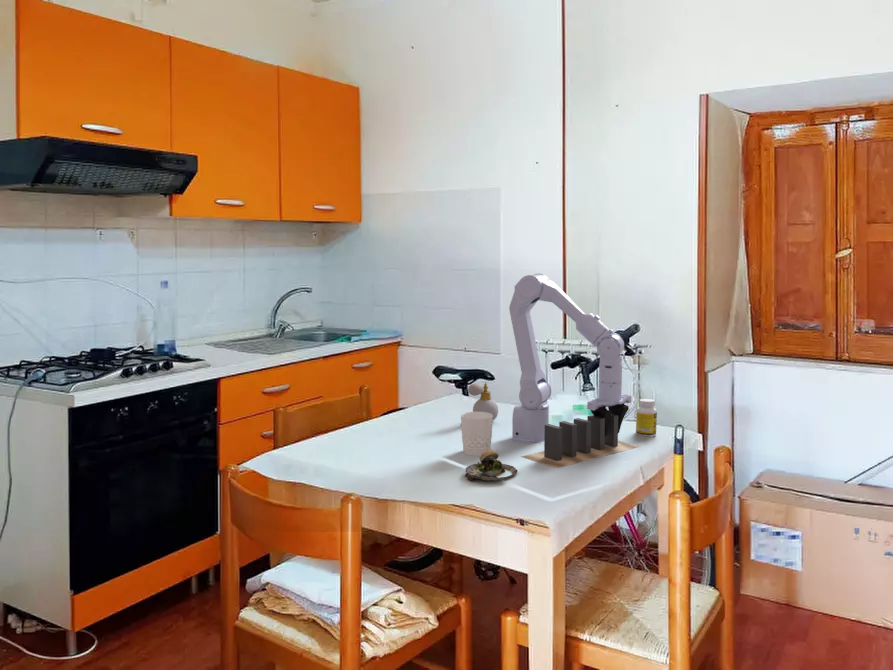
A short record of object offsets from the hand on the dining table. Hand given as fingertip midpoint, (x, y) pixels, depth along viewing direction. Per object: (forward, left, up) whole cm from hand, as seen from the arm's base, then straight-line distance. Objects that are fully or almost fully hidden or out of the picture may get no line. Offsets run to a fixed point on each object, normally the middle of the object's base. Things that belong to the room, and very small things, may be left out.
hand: (609, 433), depth 200 cm
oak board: (-6, -8, -3) cm, 11 cm away
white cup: (-31, -16, -4) cm, 35 cm away
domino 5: (0, 0, -3) cm, 3 cm away
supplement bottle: (+8, +15, -4) cm, 17 cm away
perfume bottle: (-38, +16, -4) cm, 41 cm away
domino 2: (-9, -12, -3) cm, 15 cm away
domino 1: (-12, -16, -3) cm, 20 cm away
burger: (-23, -32, -4) cm, 40 cm away
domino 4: (-3, -4, -3) cm, 6 cm away
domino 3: (-6, -8, -3) cm, 10 cm away
